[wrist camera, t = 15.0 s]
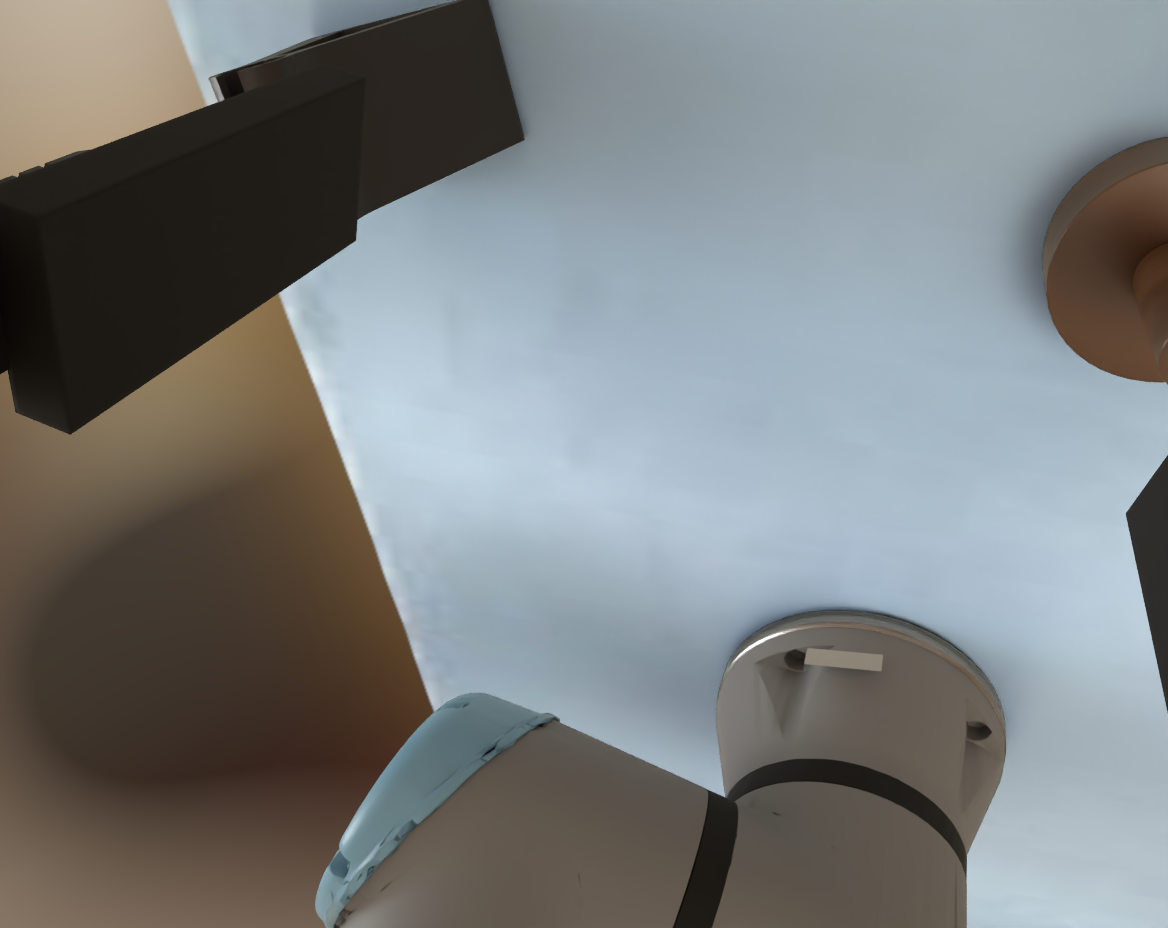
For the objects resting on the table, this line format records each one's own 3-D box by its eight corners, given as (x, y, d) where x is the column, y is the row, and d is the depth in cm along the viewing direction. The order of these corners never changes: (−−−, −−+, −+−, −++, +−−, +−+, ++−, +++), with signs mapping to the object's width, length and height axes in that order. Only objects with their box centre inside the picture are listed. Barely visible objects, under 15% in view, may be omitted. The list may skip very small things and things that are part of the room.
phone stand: (358, 169, 46) (198, 260, 37) (312, 36, 43) (126, 97, 34) (527, 139, 43) (399, 231, 33) (489, -9, 40) (337, 46, 30)
